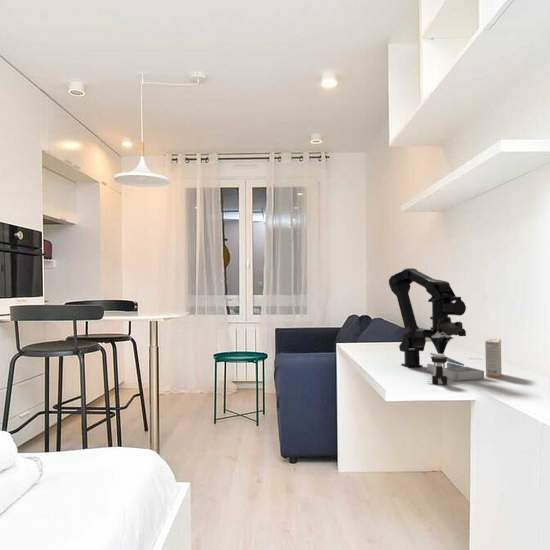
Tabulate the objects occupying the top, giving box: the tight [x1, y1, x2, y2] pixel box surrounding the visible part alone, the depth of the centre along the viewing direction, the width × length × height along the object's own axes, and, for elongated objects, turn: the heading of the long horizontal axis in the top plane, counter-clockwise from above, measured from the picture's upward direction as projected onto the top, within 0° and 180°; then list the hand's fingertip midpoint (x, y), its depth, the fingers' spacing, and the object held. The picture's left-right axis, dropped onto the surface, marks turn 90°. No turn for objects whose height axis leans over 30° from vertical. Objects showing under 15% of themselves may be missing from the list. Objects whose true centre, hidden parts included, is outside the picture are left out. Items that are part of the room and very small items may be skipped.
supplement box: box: [484, 338, 502, 379], centre depth 169 cm, size 8×5×13 cm, turn 149°
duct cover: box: [429, 352, 465, 367], centre depth 174 cm, size 9×9×1 cm
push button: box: [426, 353, 448, 385], centre depth 156 cm, size 7×5×10 cm
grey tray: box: [426, 362, 485, 382], centre depth 170 cm, size 19×12×3 cm, turn 15°
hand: (440, 355), depth 173 cm, fingers closed
